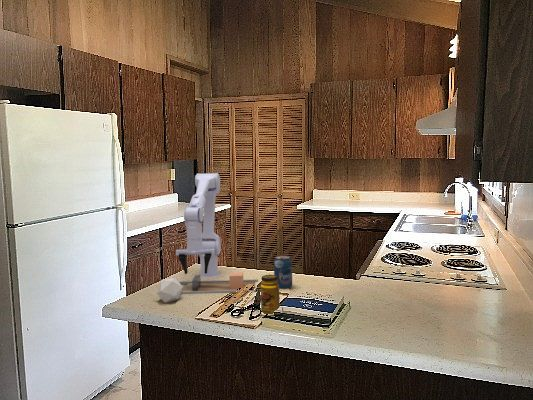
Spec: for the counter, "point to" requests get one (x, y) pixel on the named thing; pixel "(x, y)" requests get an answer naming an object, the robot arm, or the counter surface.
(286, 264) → the soda can
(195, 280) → the large flat tan board
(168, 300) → the die
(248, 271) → the counter surface
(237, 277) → the cube
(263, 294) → the condiment
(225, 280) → the lane rails
